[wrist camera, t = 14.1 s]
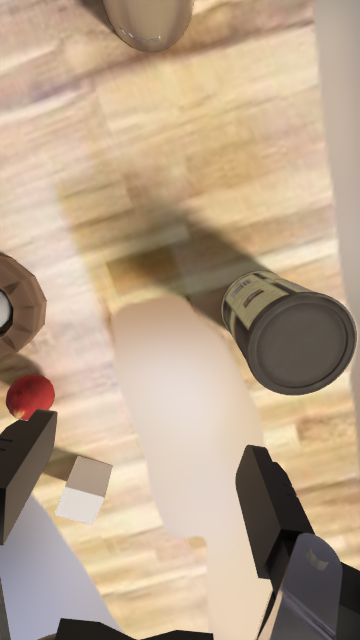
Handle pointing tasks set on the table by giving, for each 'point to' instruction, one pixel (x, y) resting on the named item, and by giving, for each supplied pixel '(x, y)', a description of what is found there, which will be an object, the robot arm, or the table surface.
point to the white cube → (84, 490)
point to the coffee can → (288, 332)
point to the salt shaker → (4, 308)
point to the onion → (29, 396)
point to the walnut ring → (21, 305)
